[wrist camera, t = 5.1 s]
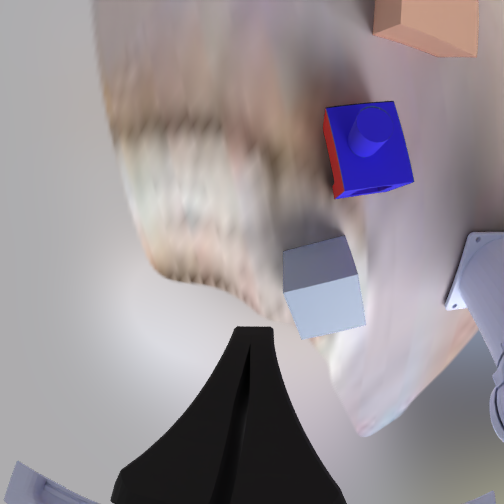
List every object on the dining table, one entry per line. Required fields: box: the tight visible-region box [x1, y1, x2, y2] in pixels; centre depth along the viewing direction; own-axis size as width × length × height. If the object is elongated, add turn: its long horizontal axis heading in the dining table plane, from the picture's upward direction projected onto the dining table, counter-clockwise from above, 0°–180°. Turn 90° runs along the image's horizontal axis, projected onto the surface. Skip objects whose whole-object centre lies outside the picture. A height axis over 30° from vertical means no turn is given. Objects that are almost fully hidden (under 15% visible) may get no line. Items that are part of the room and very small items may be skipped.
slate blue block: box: [283, 235, 366, 339], centre depth 20 cm, size 4×4×4 cm
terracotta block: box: [373, 0, 479, 57], centre depth 9 cm, size 4×4×4 cm
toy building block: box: [323, 101, 414, 199], centre depth 14 cm, size 4×4×8 cm
